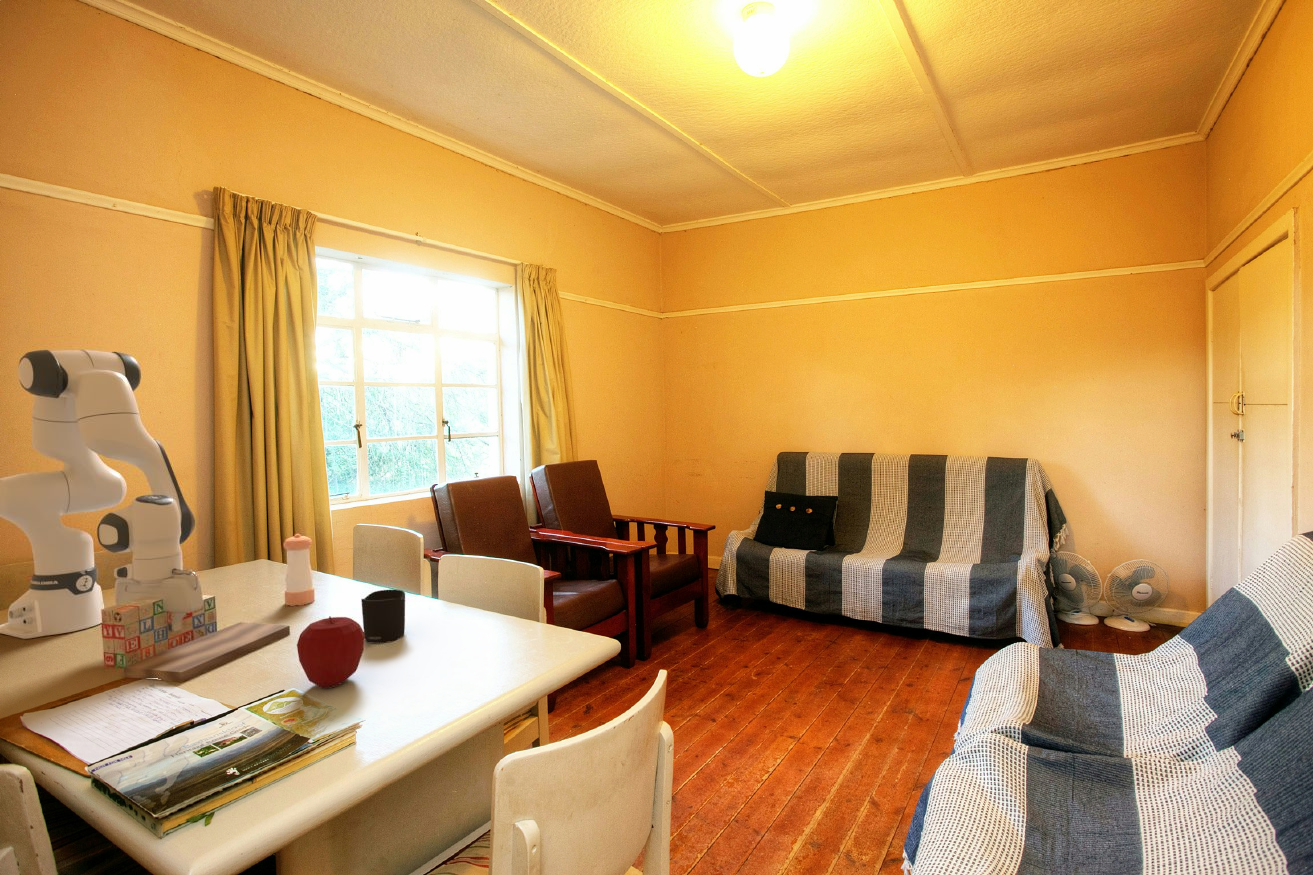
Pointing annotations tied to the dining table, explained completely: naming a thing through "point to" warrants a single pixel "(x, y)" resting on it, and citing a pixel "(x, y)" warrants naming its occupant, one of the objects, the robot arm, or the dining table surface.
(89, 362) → the robot arm
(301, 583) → the pepper shaker
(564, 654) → the dining table surface
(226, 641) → the walnut board
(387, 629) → the pen holder
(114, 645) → the stack of blocks
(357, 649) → the apple
